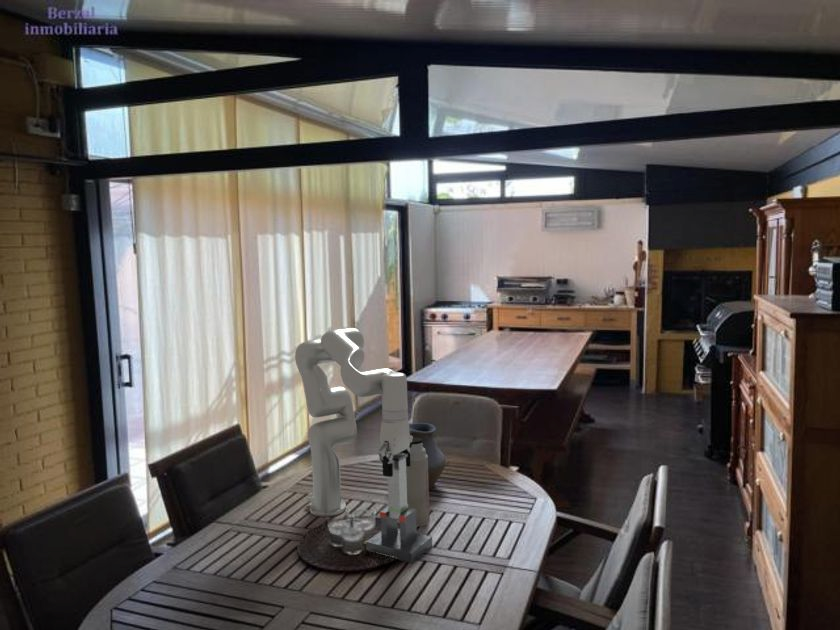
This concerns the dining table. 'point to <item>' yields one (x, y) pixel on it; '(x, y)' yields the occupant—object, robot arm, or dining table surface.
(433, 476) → the pitcher
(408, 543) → the base
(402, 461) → the column
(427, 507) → the thermos bottle
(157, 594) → the dining table surface
